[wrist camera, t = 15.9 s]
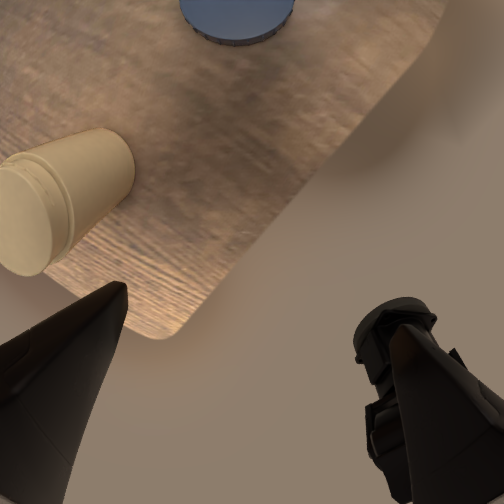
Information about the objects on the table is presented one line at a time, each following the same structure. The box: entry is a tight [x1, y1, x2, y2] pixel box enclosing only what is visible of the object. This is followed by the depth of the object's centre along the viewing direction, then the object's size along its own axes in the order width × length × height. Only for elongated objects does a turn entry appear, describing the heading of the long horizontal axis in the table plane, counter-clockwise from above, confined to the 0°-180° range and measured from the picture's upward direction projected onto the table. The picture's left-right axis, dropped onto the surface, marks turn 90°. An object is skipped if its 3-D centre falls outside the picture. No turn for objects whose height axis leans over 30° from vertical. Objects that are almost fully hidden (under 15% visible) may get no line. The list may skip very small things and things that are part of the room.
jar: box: [0, 128, 135, 276], centre depth 15 cm, size 6×6×10 cm
